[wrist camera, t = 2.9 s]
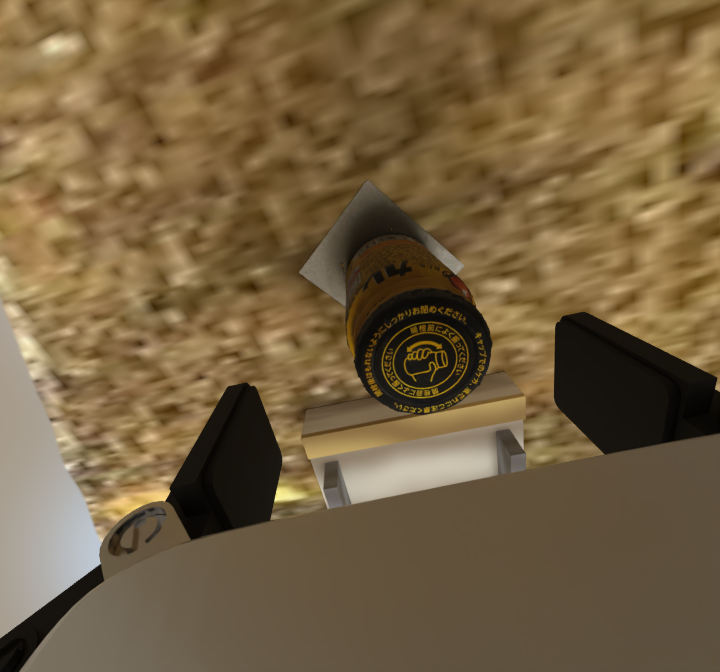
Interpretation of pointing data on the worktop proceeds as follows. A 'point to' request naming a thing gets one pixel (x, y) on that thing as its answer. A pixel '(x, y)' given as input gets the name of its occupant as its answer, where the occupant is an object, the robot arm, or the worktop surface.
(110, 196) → the worktop surface
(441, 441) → the dock
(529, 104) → the worktop surface
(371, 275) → the condiment
